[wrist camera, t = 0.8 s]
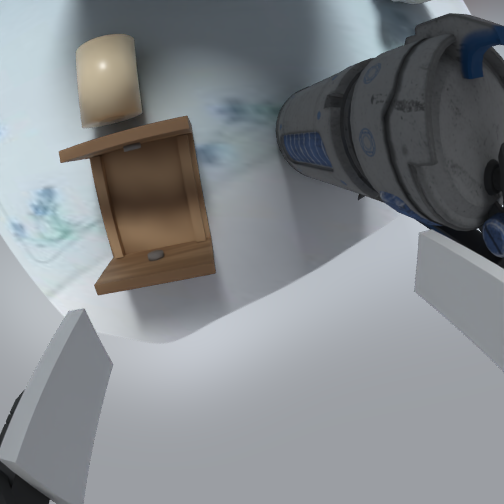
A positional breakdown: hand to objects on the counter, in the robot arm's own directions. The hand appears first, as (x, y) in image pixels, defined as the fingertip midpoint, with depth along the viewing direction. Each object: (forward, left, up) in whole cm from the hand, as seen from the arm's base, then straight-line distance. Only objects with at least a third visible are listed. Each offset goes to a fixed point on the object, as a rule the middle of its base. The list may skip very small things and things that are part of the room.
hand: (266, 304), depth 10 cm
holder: (-2, -7, -22) cm, 23 cm away
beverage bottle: (-5, +12, -22) cm, 26 cm away
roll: (-14, -9, -19) cm, 26 cm away
